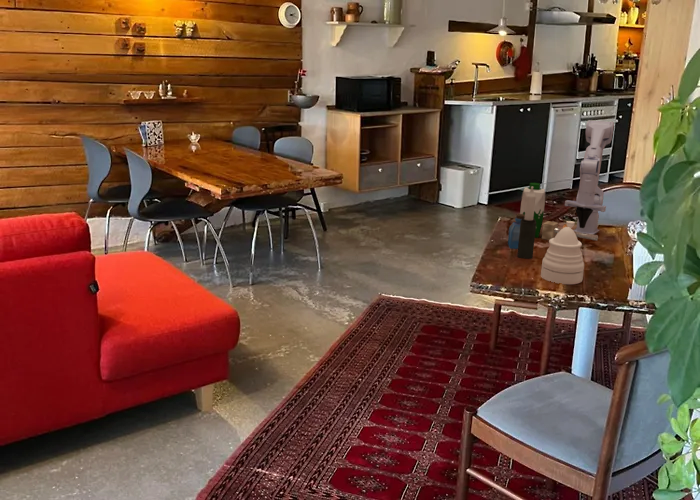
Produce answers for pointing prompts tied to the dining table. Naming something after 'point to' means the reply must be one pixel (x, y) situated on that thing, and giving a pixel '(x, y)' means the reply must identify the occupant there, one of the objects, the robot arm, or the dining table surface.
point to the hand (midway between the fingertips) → (582, 227)
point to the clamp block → (549, 230)
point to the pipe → (581, 235)
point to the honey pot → (563, 258)
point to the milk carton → (538, 205)
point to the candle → (527, 229)
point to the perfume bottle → (515, 232)
